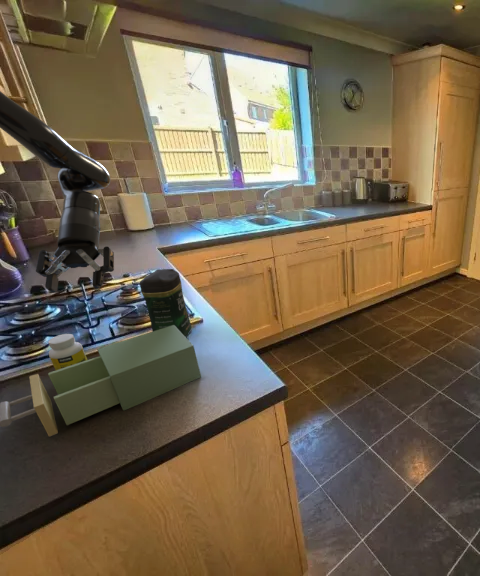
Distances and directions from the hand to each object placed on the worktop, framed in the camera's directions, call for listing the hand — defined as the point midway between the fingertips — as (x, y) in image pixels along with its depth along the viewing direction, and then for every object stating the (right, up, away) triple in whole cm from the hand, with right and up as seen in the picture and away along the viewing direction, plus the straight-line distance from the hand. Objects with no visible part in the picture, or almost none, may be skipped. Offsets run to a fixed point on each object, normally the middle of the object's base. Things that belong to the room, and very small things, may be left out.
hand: (74, 289), depth 77 cm
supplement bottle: (+3, -20, -3) cm, 20 cm away
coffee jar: (+16, -13, +13) cm, 24 cm away
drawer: (+13, -23, -13) cm, 30 cm away
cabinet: (+22, -20, -4) cm, 30 cm away
